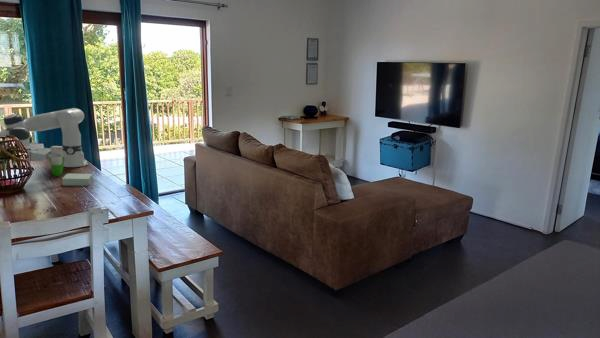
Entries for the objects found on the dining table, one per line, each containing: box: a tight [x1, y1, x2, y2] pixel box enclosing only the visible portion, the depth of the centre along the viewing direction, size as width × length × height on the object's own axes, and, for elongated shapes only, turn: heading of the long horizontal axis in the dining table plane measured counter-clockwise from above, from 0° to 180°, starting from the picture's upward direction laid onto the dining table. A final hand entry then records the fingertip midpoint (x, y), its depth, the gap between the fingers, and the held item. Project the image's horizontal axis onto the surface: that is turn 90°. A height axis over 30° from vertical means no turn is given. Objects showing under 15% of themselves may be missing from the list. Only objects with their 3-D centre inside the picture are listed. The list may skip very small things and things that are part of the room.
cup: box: [48, 157, 65, 177], centre depth 271 cm, size 9×9×11 cm
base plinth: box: [61, 173, 94, 187], centre depth 258 cm, size 13×14×4 cm
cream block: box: [49, 145, 63, 166], centre depth 251 cm, size 5×5×10 cm
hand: (58, 154), depth 252 cm, fingers closed on cream block, 5 cm apart
